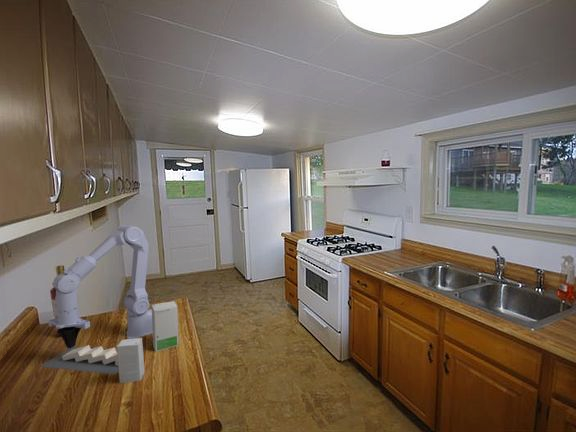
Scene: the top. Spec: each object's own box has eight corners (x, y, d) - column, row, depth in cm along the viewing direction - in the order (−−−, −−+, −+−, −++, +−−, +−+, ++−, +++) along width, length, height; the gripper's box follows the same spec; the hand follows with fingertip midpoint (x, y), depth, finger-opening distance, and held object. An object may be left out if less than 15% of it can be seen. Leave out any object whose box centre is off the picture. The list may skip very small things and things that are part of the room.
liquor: (52, 340, 114) (46, 269, 111) (56, 332, 120) (49, 265, 117) (75, 335, 117) (69, 267, 114) (78, 327, 124) (72, 263, 121)
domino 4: (101, 360, 96) (118, 354, 95) (112, 353, 100) (128, 346, 99) (104, 365, 96) (120, 358, 95) (114, 357, 100) (130, 351, 99)
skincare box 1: (145, 373, 92) (142, 337, 91) (140, 382, 88) (138, 344, 87) (124, 375, 91) (121, 339, 90) (119, 384, 87) (116, 346, 86)
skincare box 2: (155, 353, 104) (152, 311, 102) (152, 344, 109) (150, 304, 108) (179, 346, 108) (177, 305, 107) (176, 338, 114) (174, 299, 112)
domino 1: (61, 356, 99) (78, 351, 97) (73, 349, 103) (89, 344, 102) (63, 360, 99) (79, 356, 97) (74, 353, 103) (90, 349, 102)
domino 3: (87, 359, 97) (104, 354, 96) (98, 351, 101) (114, 347, 100) (89, 363, 97) (106, 359, 96) (99, 355, 101) (116, 351, 100)
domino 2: (74, 357, 98) (91, 353, 97) (85, 350, 102) (101, 345, 101) (76, 362, 98) (92, 357, 97) (87, 354, 102) (103, 350, 101)
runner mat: (39, 367, 96) (39, 366, 96) (72, 347, 108) (72, 346, 108) (114, 375, 91) (114, 374, 91) (140, 354, 103) (140, 353, 103)
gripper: (38, 312, 96) (42, 351, 98) (75, 315, 94) (79, 355, 95) (58, 303, 103) (61, 340, 105) (93, 306, 101) (96, 343, 102)
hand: (71, 346), depth 100 cm, fingers closed
